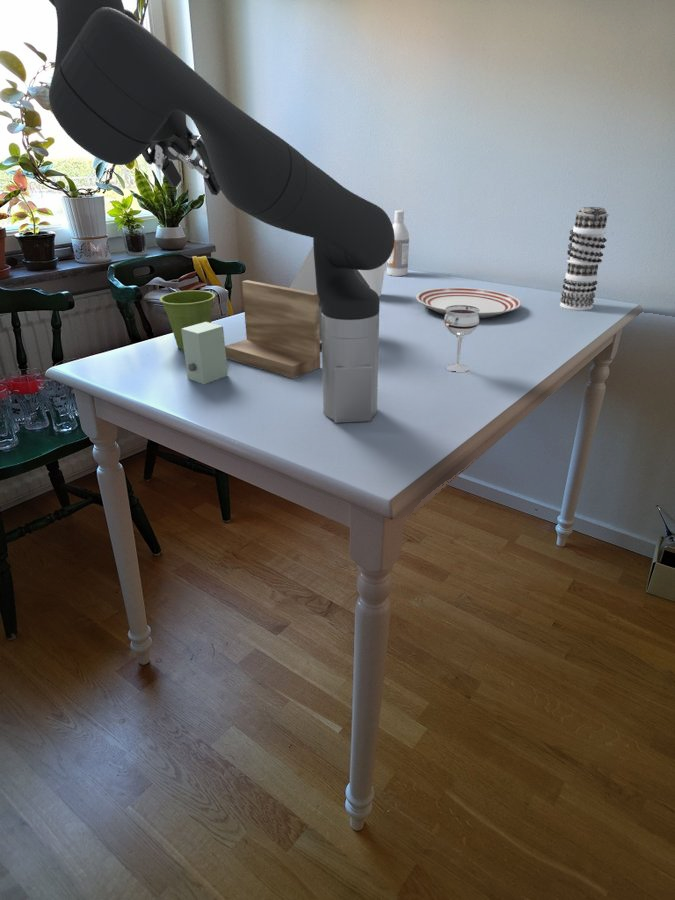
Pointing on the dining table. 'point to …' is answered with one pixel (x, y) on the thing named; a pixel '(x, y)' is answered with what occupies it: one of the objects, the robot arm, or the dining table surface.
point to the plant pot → (187, 310)
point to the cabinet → (204, 352)
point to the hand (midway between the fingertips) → (197, 187)
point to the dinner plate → (468, 300)
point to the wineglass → (461, 327)
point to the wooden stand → (279, 330)
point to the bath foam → (399, 248)
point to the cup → (374, 278)
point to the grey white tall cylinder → (584, 258)
